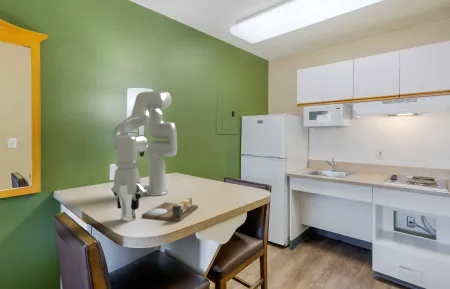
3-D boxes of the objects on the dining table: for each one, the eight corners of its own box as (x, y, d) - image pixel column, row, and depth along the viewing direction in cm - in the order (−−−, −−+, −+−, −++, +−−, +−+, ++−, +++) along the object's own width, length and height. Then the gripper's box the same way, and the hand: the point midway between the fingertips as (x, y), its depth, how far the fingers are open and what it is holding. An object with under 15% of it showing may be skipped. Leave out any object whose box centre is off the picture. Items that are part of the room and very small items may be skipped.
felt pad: (141, 214, 105) (141, 214, 105) (153, 208, 113) (153, 207, 113) (160, 216, 102) (160, 216, 102) (171, 210, 111) (171, 209, 111)
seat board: (141, 217, 105) (141, 205, 104) (164, 204, 123) (164, 194, 123) (180, 221, 100) (180, 208, 99) (198, 207, 118) (197, 197, 118)
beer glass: (122, 216, 105) (121, 182, 105) (139, 216, 106) (138, 181, 105) (116, 222, 99) (116, 185, 98) (134, 222, 99) (134, 185, 98)
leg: (186, 206, 114) (186, 197, 114) (191, 206, 113) (191, 198, 113) (172, 215, 101) (172, 206, 101) (178, 216, 100) (178, 207, 100)
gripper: (103, 166, 100) (104, 209, 101) (139, 167, 95) (140, 213, 96) (116, 163, 107) (117, 204, 108) (150, 165, 102) (151, 207, 103)
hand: (128, 208), depth 102 cm, fingers closed on beer glass, 6 cm apart
